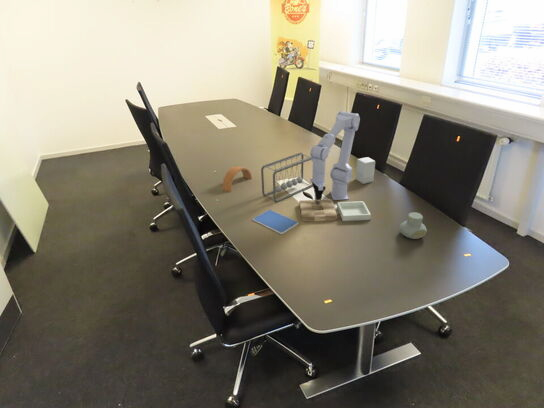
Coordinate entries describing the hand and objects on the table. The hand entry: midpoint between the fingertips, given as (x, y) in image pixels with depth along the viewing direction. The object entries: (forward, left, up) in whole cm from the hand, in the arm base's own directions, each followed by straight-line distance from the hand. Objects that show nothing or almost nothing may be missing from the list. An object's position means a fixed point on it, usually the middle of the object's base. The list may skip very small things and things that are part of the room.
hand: (317, 197), depth 171 cm
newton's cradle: (-24, -12, -9) cm, 28 cm away
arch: (-36, -41, -9) cm, 55 cm away
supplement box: (-33, +32, -9) cm, 47 cm away
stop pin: (0, 0, -3) cm, 3 cm away
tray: (+3, +17, -8) cm, 19 cm away
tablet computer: (+7, -21, -9) cm, 24 cm away
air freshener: (+23, +38, -9) cm, 45 cm away
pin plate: (0, 0, -8) cm, 8 cm away
